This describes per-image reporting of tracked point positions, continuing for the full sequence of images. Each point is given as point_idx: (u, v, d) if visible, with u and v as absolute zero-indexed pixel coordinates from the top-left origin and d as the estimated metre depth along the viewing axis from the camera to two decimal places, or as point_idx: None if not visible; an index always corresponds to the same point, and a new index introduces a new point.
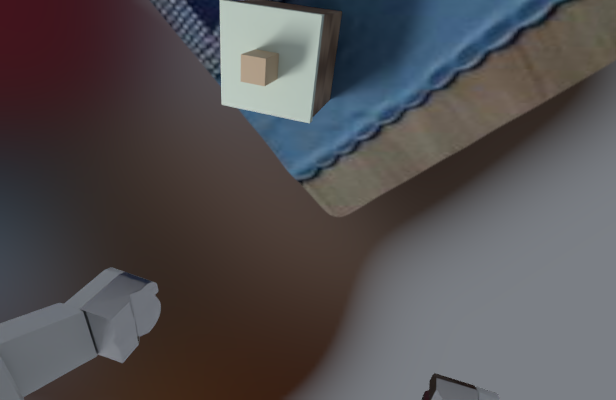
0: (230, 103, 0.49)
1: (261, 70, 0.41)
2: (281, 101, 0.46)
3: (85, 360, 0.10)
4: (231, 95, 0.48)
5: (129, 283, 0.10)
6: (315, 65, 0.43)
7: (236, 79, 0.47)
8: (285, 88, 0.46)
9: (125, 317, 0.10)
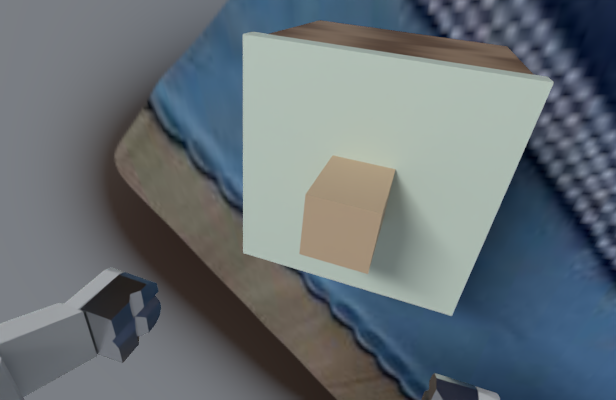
0: (251, 66, 0.17)
1: (339, 256, 0.15)
2: (277, 206, 0.20)
3: (85, 360, 0.10)
4: (273, 74, 0.16)
5: (129, 283, 0.10)
6: (355, 285, 0.21)
7: (317, 98, 0.16)
8: None
9: (125, 317, 0.10)
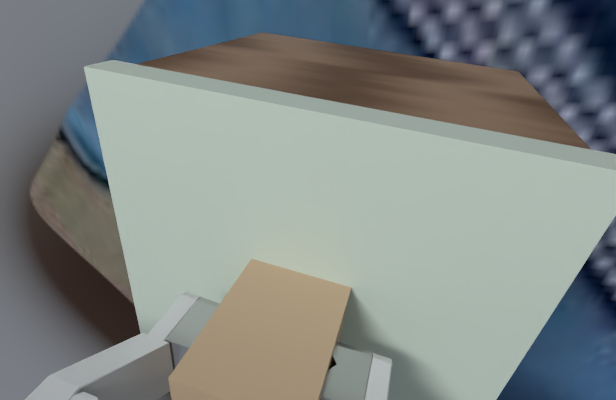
0: (107, 119, 0.10)
1: None
2: None
3: (165, 392, 0.10)
4: (143, 132, 0.10)
5: (209, 310, 0.10)
6: None
7: (217, 174, 0.10)
8: None
9: None
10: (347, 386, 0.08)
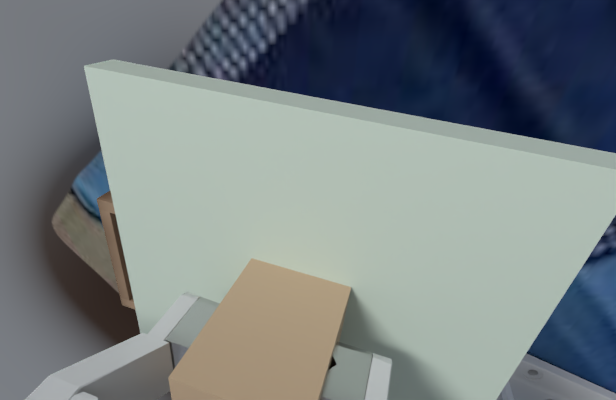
0: (107, 118, 0.10)
1: None
2: None
3: (165, 392, 0.10)
4: (143, 132, 0.10)
5: (209, 310, 0.10)
6: None
7: (217, 174, 0.10)
8: None
9: None
10: (347, 385, 0.08)
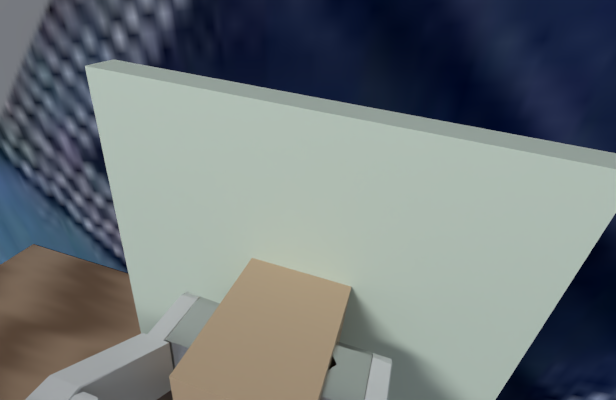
0: (108, 118, 0.10)
1: None
2: None
3: (165, 391, 0.10)
4: (143, 132, 0.10)
5: (209, 310, 0.10)
6: None
7: (218, 174, 0.10)
8: None
9: None
10: (347, 385, 0.08)
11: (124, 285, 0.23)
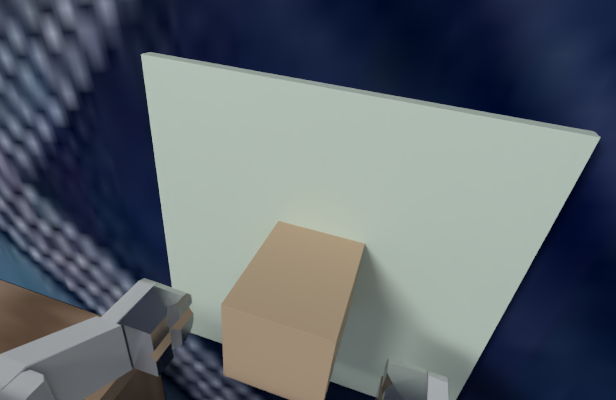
0: (157, 99, 0.12)
1: (278, 385, 0.10)
2: (212, 278, 0.15)
3: (121, 374, 0.10)
4: (188, 110, 0.12)
5: (165, 295, 0.10)
6: None
7: (252, 146, 0.11)
8: None
9: (163, 330, 0.10)
10: None
11: None
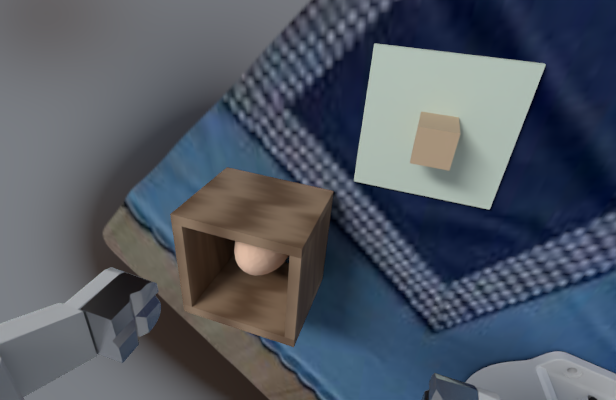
0: (376, 62, 0.30)
1: (433, 162, 0.28)
2: (381, 147, 0.33)
3: (85, 360, 0.10)
4: (389, 65, 0.30)
5: (129, 283, 0.10)
6: (428, 196, 0.34)
7: (415, 78, 0.29)
8: (399, 154, 0.33)
9: (125, 317, 0.10)
10: None
11: (294, 187, 0.37)
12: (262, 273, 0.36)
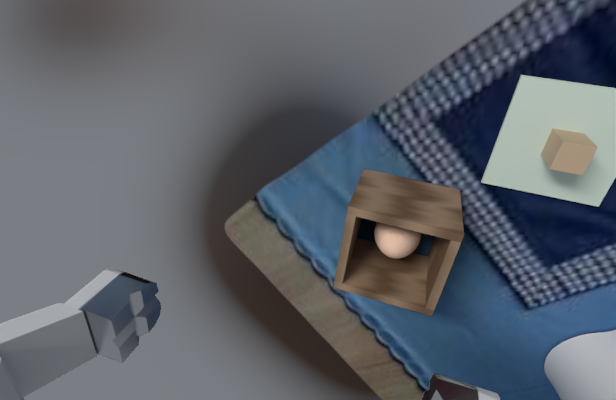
0: (521, 89, 0.38)
1: (570, 168, 0.36)
2: (512, 155, 0.41)
3: (85, 360, 0.10)
4: (532, 92, 0.38)
5: (129, 283, 0.10)
6: (546, 195, 0.42)
7: (552, 102, 0.38)
8: (527, 161, 0.41)
9: (125, 317, 0.10)
10: None
11: (427, 186, 0.45)
12: (403, 256, 0.44)
